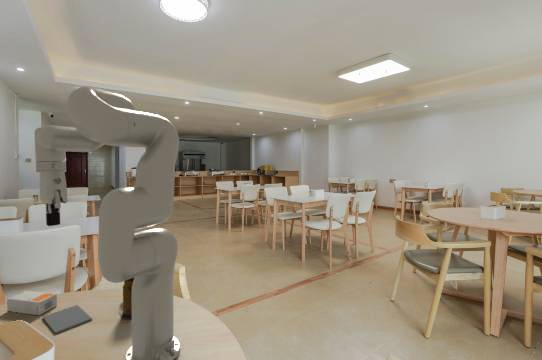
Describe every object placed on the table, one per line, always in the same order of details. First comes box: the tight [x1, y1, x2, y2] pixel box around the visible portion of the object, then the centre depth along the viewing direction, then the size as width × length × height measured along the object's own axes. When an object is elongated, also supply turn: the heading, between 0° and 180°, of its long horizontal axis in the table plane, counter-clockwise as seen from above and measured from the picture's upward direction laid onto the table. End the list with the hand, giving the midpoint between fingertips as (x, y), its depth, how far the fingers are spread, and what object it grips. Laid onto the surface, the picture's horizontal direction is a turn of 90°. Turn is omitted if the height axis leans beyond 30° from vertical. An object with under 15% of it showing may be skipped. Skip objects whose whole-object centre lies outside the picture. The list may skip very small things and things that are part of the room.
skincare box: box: [6, 290, 58, 316], centre depth 90 cm, size 6×4×12 cm
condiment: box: [118, 277, 135, 323], centre depth 88 cm, size 7×8×12 cm
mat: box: [42, 304, 93, 335], centre depth 84 cm, size 12×9×1 cm
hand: (53, 224), depth 90 cm, fingers closed
